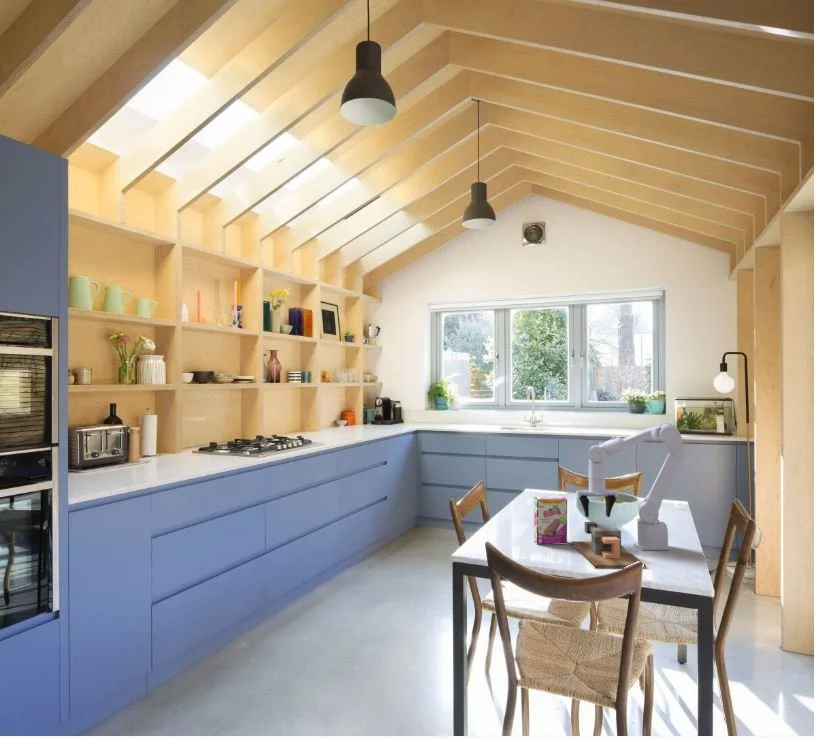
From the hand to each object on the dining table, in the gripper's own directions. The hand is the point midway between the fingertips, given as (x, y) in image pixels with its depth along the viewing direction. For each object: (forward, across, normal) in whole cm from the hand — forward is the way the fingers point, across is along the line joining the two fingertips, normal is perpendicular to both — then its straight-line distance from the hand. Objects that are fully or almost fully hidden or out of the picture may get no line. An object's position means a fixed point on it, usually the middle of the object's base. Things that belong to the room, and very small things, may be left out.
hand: (597, 516), depth 208 cm
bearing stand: (+9, -2, -15) cm, 18 cm away
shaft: (+6, -2, -6) cm, 9 cm away
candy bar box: (+10, -17, 0) cm, 20 cm away
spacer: (+5, -4, -19) cm, 21 cm away
